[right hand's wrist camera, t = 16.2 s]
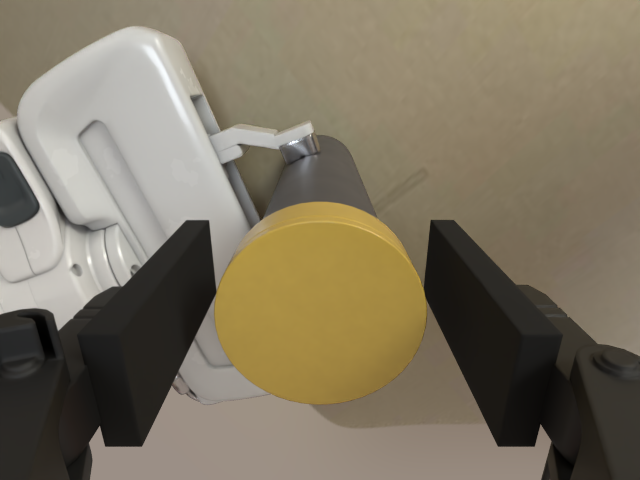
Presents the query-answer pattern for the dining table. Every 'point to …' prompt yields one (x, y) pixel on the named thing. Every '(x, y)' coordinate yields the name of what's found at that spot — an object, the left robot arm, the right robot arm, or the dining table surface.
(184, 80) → the left robot arm
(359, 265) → the lid
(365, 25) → the dining table surface
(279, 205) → the dark grey cylinder
